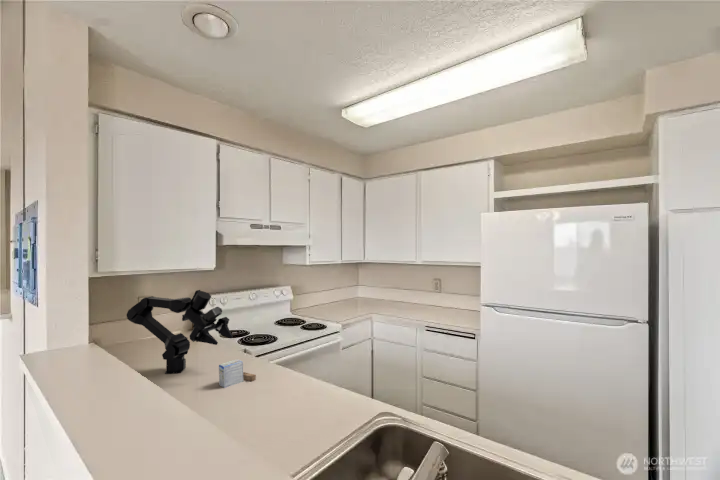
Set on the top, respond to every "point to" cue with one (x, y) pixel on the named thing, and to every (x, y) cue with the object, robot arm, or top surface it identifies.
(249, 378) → the walnut tipping strip
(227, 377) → the medicine box
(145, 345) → the top surface
